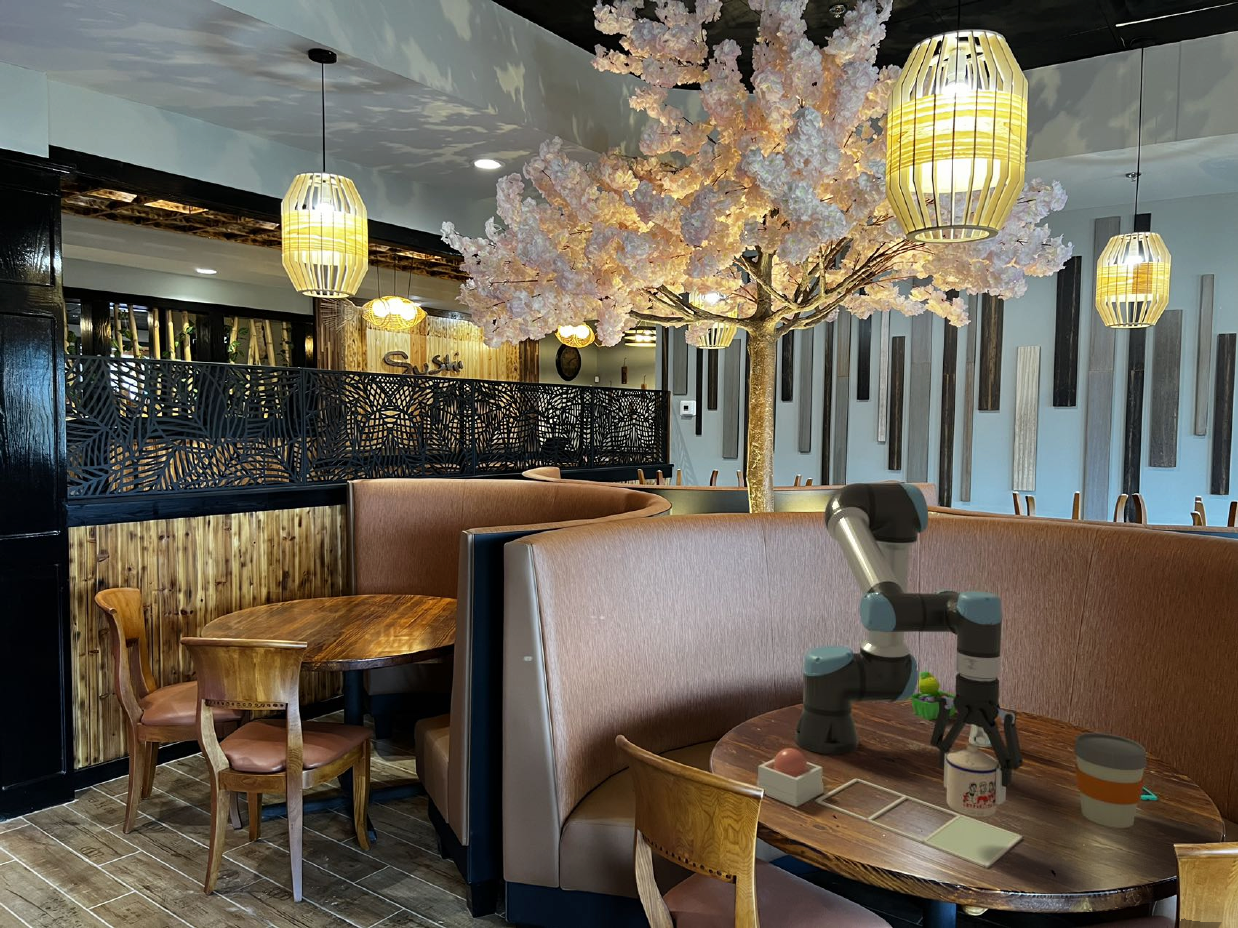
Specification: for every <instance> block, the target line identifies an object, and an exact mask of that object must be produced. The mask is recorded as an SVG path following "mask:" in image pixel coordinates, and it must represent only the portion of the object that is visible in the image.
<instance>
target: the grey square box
mask: <svg viewBox="0 0 1238 928" xmlns="http://www.w3.org/2000/svg"><path fill="white" fill-rule="evenodd" d="M774 759H775V758H772V759H771V760H769V761H766V762H763V763H762V764H760V765H758V767H757V768H758V769H757V770H758V771H757V781H756V788H757V787H759V788H763V789H764V790H765V794H766V796H767V797H770V798H773V799H775V800H778V801H779V802H782V803H785V804H788V805H789V806H792V807H795V808H798V806H801V805H803V804H805V803H807V802H808V801H810V800H812V799H815V798H816V797H817V796H820V795H821V794H823V793H824V782H823V766H820V765H817V764H814V763H811V762H808V761H806V762H807V772H806V773H804V774H802V775H800V776H798V777H796V778H795V777H792V776H789V775H787V774H784V773H781V772H779V771H776V770H774ZM765 794H764V795H765Z"/></svg>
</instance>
